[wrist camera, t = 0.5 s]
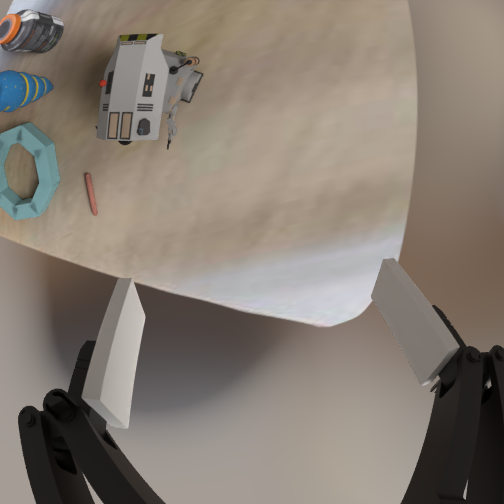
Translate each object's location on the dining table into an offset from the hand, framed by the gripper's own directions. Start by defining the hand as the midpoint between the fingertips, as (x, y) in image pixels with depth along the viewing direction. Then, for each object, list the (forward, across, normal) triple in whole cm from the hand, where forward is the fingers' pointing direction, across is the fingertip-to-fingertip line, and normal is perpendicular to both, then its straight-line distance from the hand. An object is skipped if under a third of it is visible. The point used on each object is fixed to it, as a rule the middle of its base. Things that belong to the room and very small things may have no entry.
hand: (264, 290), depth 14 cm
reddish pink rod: (+26, -21, -3) cm, 34 cm away
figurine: (+27, -9, +10) cm, 30 cm away
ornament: (+27, -26, +15) cm, 40 cm away
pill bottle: (+27, -27, +24) cm, 45 cm away
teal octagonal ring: (+26, -34, +3) cm, 43 cm away
